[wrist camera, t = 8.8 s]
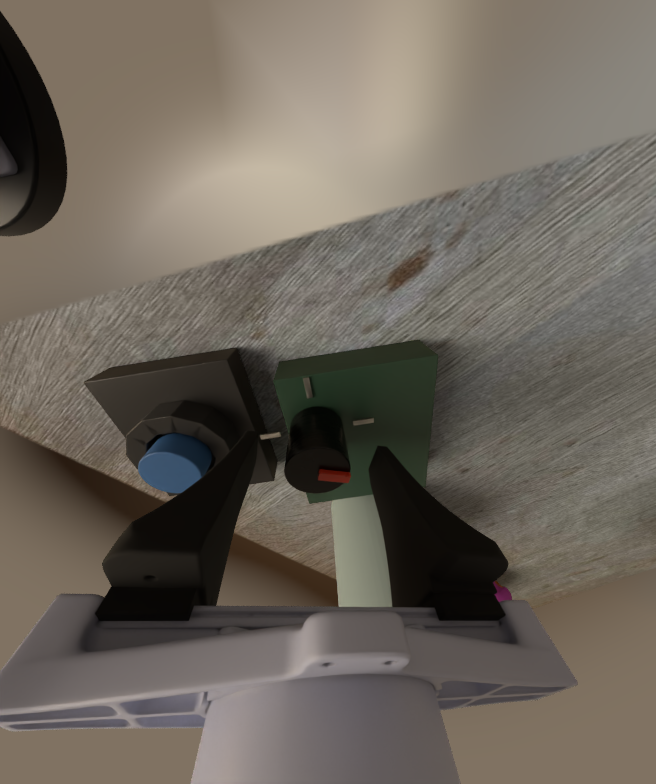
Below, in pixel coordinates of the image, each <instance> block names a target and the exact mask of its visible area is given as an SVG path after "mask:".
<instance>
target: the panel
mask: <svg viewBox="0 0 656 784" xmlns="http://www.w3.org/2000/svg"><path fill="white" fill-rule="evenodd" d="M437 365H438V354H437V353H435V352H434V351H433V350H431V349H430V348H429V347H427V346H426V345H425V344H423V343H422V342H421V341H420V340H415V341H408V342H402V343H396V344H389V345H383V346H377V347H371V348H364V349H358V350H352V351H345V352H339V353H333V354H326V355H320V356H314V357H307V358H301V359H295V360H288V361H282V362H279V364H278V367H277V370H276V374H275V377H274V380H273V382H274V386H275V389H276V393H277V396H278V399H279V403H280V406H281V409H282V413H283V416H284V420H285V423H286V426H287V430H288V433H289V431H290V424H291V421H292V419H293V418H294V416H295V415H296V414H297V413H299V412H300V411H302V410H304V409H306V408H309V407H325V408H328V409H331V410H332V411H334V412H335V413H337V414H338V415H339V417H340V418H341V420H342V423H343V428H344V433H345V439H346V444H347V449H348V455H349V460H350V466H351V472H350V473H351V478H350V481H349V483H344V484H343V485H342V486H340V487H339V488H337V489H335V490H333V491H330V492H326V493H318V494H314V493H306V494H307V497H308V501H309V504H311V503H318V502H325V501H332V500H338V499H345V498H352V497H359V496H366V495H373V492H372V489H371V485H370V478H369V470H368V469H369V466H370V464H371V461H372V459H373V456H374V454H375V451H376V448H377V446H386V447H388V448H389V449H390V451H391V452H392V453H393V454H394V455H395V457H396V458H397V459H398V460H399V461H400V463H401V464H402V465H403V466H404V467H405V468H406V470H407V471H408V472H409V473H410V474H411V475H412V476H413V477H414V478H415V480H416V481H417V482H418V483H419V484H420V485H421V486H422V487H426V477H427V466H428V456H429V446H430V436H431V426H432V416H433V406H434V396H435V385H436V375H437ZM275 437H281V433H280V431H279V432H272V433H265V434H260V438H261V440H262V439H268V438H275Z"/></svg>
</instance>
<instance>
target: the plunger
mask: <svg viewBox="0 0 656 784" xmlns="http://www.w3.org/2000/svg"><path fill="white" fill-rule="evenodd" d="M211 461H212V454H211V451H210V449H209V448H208V446H207V445H206V444H204V443H203V442H201V441H200V440H198V439H197V438H195V437H193V436H189V435H185V434H181V433H172V434H167V435H164V436H162V437H160V438H159V439H158V440H157V441H156V442H155V443H154V445H153V446H152V447H151V448H150V449H149V450H148V452H147V453H146V454H145V455H144V456H143V457H142V459H141V460H140V462H139V465H138V471H139V474H140V476H141V477H142V479H143V480H144V481H145V482H146V483H148V484H149V485H151V486H152V487H154V488H156V489H159V490H161V491H165V492H169V493H182V492H183V491H185V490H186V489H187V488H189V487H190V486H191V485H193V484H194V483H195V482H197V481H198V480H199V479H200V478H202V477H203V476H204V475H205V474H206V472H207V470H208V468H209V466H210V464H211Z"/></svg>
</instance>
